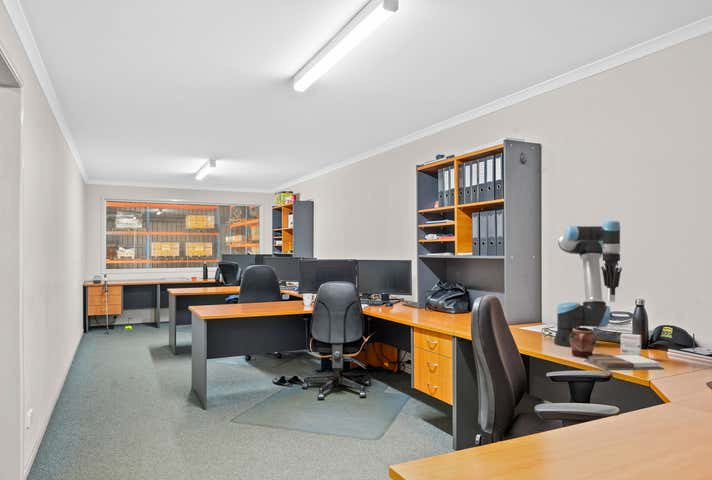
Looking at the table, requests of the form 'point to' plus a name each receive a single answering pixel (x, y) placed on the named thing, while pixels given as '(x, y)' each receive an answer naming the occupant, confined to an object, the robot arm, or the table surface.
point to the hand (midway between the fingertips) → (611, 301)
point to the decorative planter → (582, 342)
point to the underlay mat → (623, 368)
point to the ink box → (630, 344)
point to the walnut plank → (610, 362)
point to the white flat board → (639, 360)
